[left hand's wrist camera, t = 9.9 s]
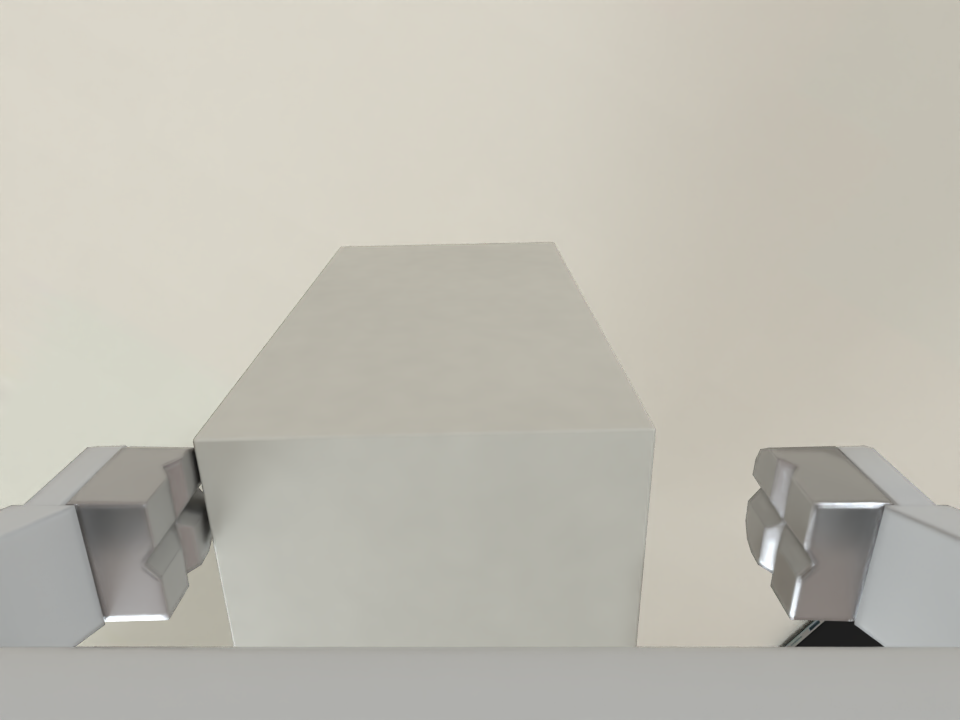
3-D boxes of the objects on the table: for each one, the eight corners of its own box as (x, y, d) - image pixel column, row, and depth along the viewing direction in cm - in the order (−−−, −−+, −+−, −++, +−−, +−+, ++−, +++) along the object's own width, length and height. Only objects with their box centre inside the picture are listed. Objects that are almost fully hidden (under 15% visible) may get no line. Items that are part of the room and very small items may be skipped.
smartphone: (866, 586, 37) (1036, 703, 41) (859, 578, 38) (1028, 694, 41) (770, 669, 39) (940, 774, 43) (765, 660, 40) (933, 764, 43)
